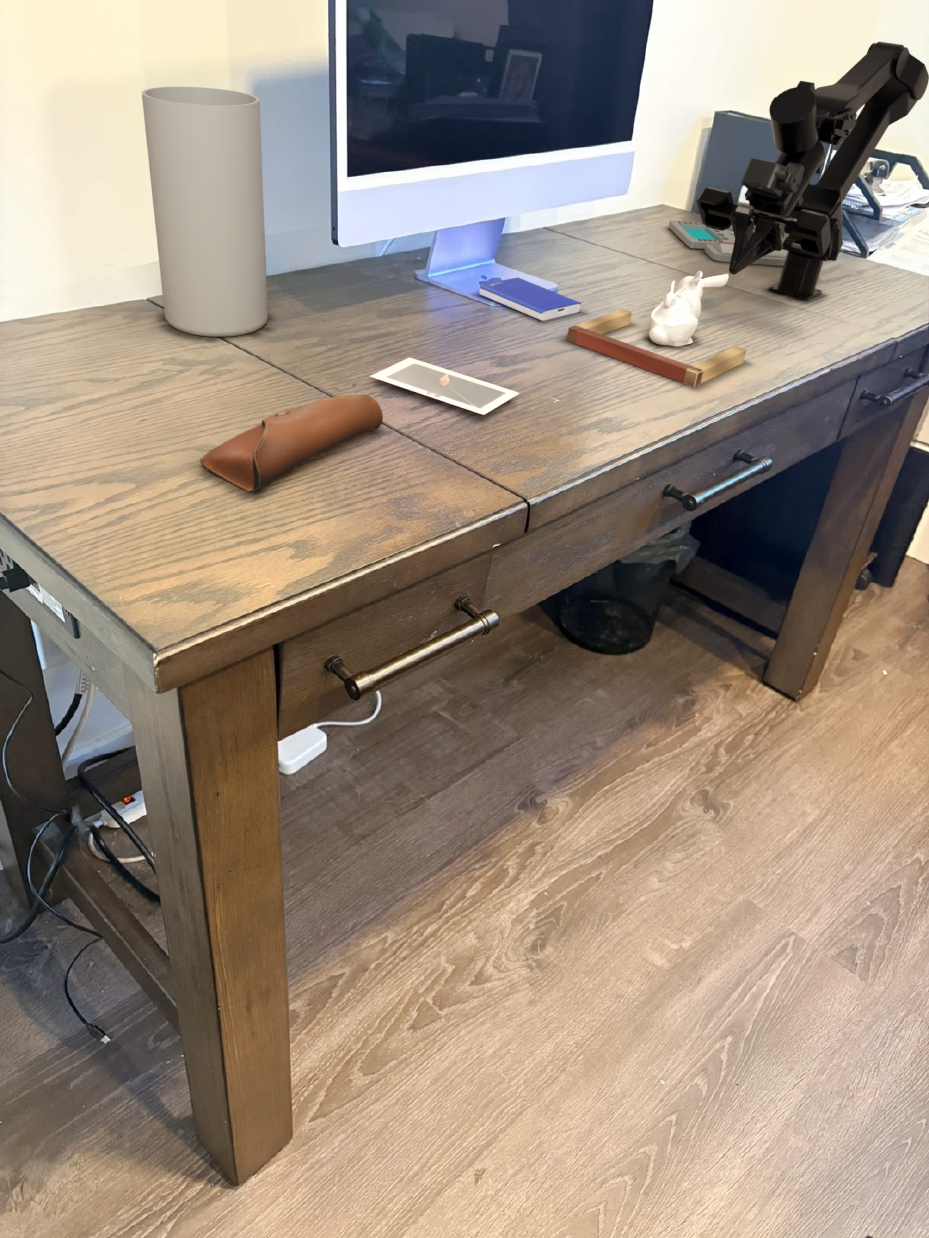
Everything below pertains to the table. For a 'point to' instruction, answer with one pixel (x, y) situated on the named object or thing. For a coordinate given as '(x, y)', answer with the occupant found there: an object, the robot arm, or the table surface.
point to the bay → (693, 376)
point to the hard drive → (530, 298)
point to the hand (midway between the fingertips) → (731, 272)
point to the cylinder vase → (208, 208)
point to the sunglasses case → (291, 439)
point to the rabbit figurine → (681, 310)
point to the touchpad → (446, 385)
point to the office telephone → (717, 242)
